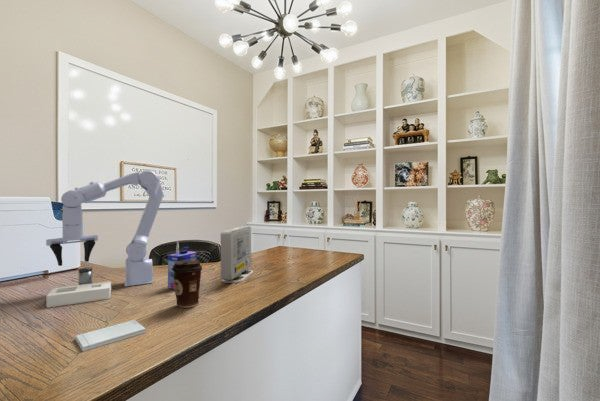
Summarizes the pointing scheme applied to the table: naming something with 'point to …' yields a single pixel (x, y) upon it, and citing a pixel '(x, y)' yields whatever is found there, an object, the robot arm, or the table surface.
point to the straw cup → (175, 258)
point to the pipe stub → (85, 275)
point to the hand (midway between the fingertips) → (73, 263)
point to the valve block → (79, 294)
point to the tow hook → (177, 247)
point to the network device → (235, 254)
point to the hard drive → (109, 335)
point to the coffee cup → (187, 283)
